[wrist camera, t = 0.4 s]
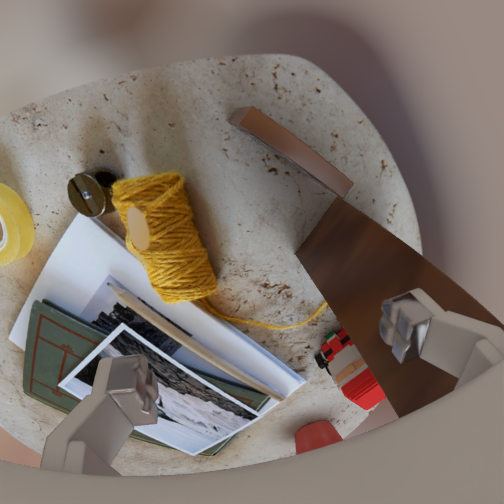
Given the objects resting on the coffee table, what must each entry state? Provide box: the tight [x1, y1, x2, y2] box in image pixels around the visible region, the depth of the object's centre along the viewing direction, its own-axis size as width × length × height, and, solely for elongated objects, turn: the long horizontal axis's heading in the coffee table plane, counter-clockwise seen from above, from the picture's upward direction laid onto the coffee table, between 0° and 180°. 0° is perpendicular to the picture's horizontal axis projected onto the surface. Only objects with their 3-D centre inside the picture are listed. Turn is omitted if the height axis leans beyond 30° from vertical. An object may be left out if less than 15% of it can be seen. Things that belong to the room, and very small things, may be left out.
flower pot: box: [295, 421, 343, 455], centre depth 48 cm, size 11×11×10 cm
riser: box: [295, 197, 504, 418], centre depth 21 cm, size 8×9×30 cm
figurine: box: [315, 329, 386, 410], centre depth 37 cm, size 8×7×12 cm
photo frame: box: [228, 106, 354, 199], centre depth 25 cm, size 2×10×8 cm, turn 56°
